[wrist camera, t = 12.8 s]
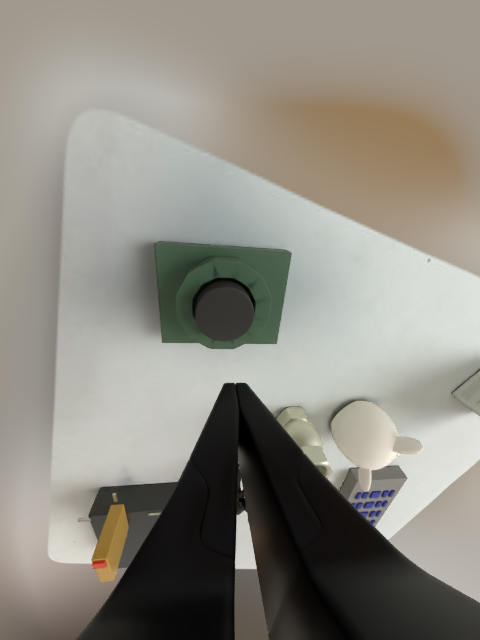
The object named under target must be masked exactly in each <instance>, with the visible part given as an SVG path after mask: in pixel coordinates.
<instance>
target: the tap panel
mask: <svg viewBox="0 0 480 640" xmlns="http://www.w3.org/2000/svg"><path fill="white" fill-rule="evenodd" d="M176 485H177V483H166V484H151V485H136V486H121V487H106V488H100V489H99V492H98V494H97V497H96V499H95V501H94V504H93V506H92V508H91V511H90V513H89V518H79V519H78V522H81V521H90V522H91V524H92V527H93V530H94V532H95V535H96V537H97V540H99V537H100V535H101V532H102V529H103V526H104V523H105V521H106V518H107V515H108V512H109V509H110V507H111V505H120V504H124V507H125V512H126V516H127V520H128V525H129V529H128V533H127V536H126V540H125V544H124V547H123V551H122V555H121V558H120V562H119V566H118V568H126V567H129V565H130V563H131V562H132V560H133V558H134V557H135V555H136V553H137V552H138V550H139V548H140V547H141V545H142V543H143V542H144V540H145V538H146V537H147V535H148V534H149V532H150V530H151V529H152V527H153V525H154V524H155V522H156V520H157V519H158V517H159V515H160V514H161V512H162V510H163V509H164V507H165V505H166V503H167V502H168V500H169V498H170V496H171V495H172V493H173V491H174V489H175V487H176Z"/></svg>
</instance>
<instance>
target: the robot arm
mask: <svg viewBox="0 0 480 640" xmlns="http://www.w3.org/2000/svg"><path fill="white" fill-rule="evenodd" d="M238 461H239V466H240V472H241V478H242V484H243V490H244V496H245V501H246V507H247V513H248V519H249V525H250V531H251V536H252V542H253V548H254V554H255V560H256V566H257V571H258V577H259V583H260V589H261V595H262V601H263V606H264V612H265V618H266V624H267V630H268V632H269V634H268V636H269V640H480V603H479V602H477V601H476V600H474V599H472V598H470V597H469V596H467V595H465V594H463V593H461V592H460V591H458V590H456V589H454V588H453V587H451V586H449V585H447V584H446V583H444V582H442V581H440V580H439V579H437V578H435V577H433V576H432V575H430V574H428V573H427V572H425V571H424V570H422V569H421V568H420V567H418V566H417V565H416V564H414V563H413V562H412V561H410V560H409V559H408V558H407V557H405V556H404V555H403V554H402V553H401V552H400V551H398V550H397V549H396V548H395V547H394V546H393V545H392V544H391V543H390V542H389V541H388V540H387V539H386V538H385V537H384V536H383V535H382V534H381V533H380V532H379V531H378V530H377V529H376V528H375V527H374V526H373V525H372V524H371V523H370V522H369V521H368V520H367V519H366V518H365V517H364V516H363V515H362V514H361V513H360V512H359V511H358V510H357V509H356V508H355V507H354V506H353V505H352V504H351V503H350V502H349V501H348V500H347V499H346V498H345V497H344V496H343V495H342V494H341V493H340V492H339V491H338V490H337V489H336V488H335V487H334V486H333V484H332V483H331V482H330V481H329V480H328V479H327V478H326V477H325V476H324V475H323V474H322V472H321V471H320V470H319V469H318V468H317V467H316V466H315V464H314V463H313V462H312V461H311V460H310V459H309V457H308V456H307V455H306V454H304V452H303V450H302V449H301V448H300V447H299V446H298V444H297V443H296V442H295V441H294V440H293V438H292V437H291V436H290V435H289V434H288V432H287V431H286V430H285V429H284V428H283V426H282V425H281V424H280V423H279V422H278V420H277V419H276V418H275V417H274V416H273V415H272V413H271V412H270V411H269V410H268V409H267V407H266V406H265V405H264V404H263V403H262V401H261V400H260V399H259V398H258V397H257V395H256V394H255V393H254V392H253V391H252V389H251V388H250V387H249V386H248V385H247V384H246V383H236V384H234V383H225V384H224V385H223V387H222V389H221V391H220V394H219V396H218V398H217V400H216V402H215V404H214V406H213V409H212V411H211V413H210V415H209V417H208V419H207V422H206V424H205V426H204V428H203V430H202V432H201V435H200V437H199V439H198V441H197V443H196V445H195V448H194V450H193V452H192V454H191V456H190V460H189V461H188V462H187V465H186V467H185V469H184V471H183V473H182V475H181V477H180V479H179V481H178V483H177V485H176V487H175V489H174V491H173V493H172V495H171V496H170V498H169V500H168V502H167V503H166V505H165V507H164V509H163V510H162V512H161V514H160V515H159V517H158V519H157V520H156V522H155V524H154V525H153V527H152V529H151V530H150V532H149V534H148V535H147V537H146V538H145V540H144V542H143V543H142V545H141V547H140V548H139V550H138V552H137V553H136V555H135V557H134V558H133V560H132V562H131V563H130V565H129V567H128V568H127V570H126V571H125V573H124V575H123V576H122V578H121V580H120V581H119V583H118V584H117V586H116V587H115V589H114V590H113V592H112V593H111V595H110V596H109V598H108V599H107V600H106V602H105V603H104V605H103V606H102V607H101V609H100V610H99V611H98V613H97V614H96V615H95V617H94V618H93V619H92V621H91V622H90V623H89V624H88V625H87V626H86V628H85V629H84V630H83V631H82V632H81V633H80V635H79V636H78V637H77V638H76V639H75V640H234V639H235V637H234V636H235V632H234V590H235V587H234V586H235V549H236V514H237V479H238Z"/></svg>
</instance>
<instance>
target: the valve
mask: <svg viewBox="0 0 480 640" xmlns="http://www.w3.org/2000/svg"><path fill="white" fill-rule="evenodd" d="M277 420H278V422H279V423H280V424H281V425H282V426H283V428H284V429H285V430H286V431H287V432H288V434H289V435H290V436H291V437H292V438H293V440H294V441H295V442H296V443H297V444H298V446H299V447H300V448H301V449H302V450H303V452H304V454H306V455H307V456H308V457H309V459H310V460H311V461H312V462H313V463H314V464H315V466H316V467H317V468H318V469H319V470H320V471H321V472H322V474H323V475H324V476H325V477H326V478H328V477H329V476H330V474H331V473H332V470H331V468H330V465H329V463H328V461H327V459H326V457H325V455H324V453H323V444H322V440H321V437H320V434H319V433H318V431H317V430H316V428H315V427H314V426H313V425H312V424H310V423H309V420H308V418H307V416H306V414H305V412H304V410H303V408H302V407H289V408H286V409H284V410H283V411H282V412H281V413H280V414H279V416H278V417H277ZM239 467H240V466H239V464H238V479H237V515H239V514H241V513H242V512H243V511H244V510H245V511H246V512H247V507H246V501H245V498H244V497H245V496H244V490H242V491H241V488H240V481H241V472H240V470H239ZM248 522H249V519H248Z"/></svg>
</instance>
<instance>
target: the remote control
mask: <svg viewBox="0 0 480 640" xmlns="http://www.w3.org/2000/svg"><path fill="white" fill-rule="evenodd" d="M358 470H359V468H351V469H350V471H349V473H348V475H347V477H346V479H345V481H344V484H343V486H342V488H341V490H340V493H341V494H342V495H343V496H344V497H345V498H346V499H347V500H348V501H349V502H350V503H351V504H352V505H353V506H354V507H355V508H356V509H357V510H358V511H359V512H360V513H361V514H362V515H363V516H364V517H365V518H366V519H367V520H368V521H369V522H370V523H371V524H372V525H373V526H374V527H375V526H376V524H377V523H378V521H379V520H380V518H381V517H382V516H383V514H384V513H385V511H386V510H387V508H388V507H389V505H390V504H391V502H392V501H393V499H394V498H395V496H396V495H397V493H398V492H399V490H400V489H401V487H402V486H403V484H404V483H405V481H406V480H407V477H406V475H405V474H404V473H403V471H402V470H401V469H400V467H399V466H389V467H383V468H381V469H378V470H371V486H370V489H369V491H368V492H365V491H363V490H362V488H361V486H360V483H359V476H358Z"/></svg>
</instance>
